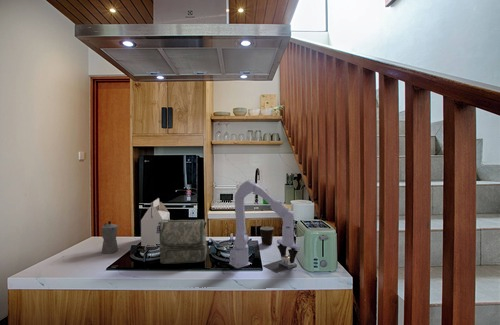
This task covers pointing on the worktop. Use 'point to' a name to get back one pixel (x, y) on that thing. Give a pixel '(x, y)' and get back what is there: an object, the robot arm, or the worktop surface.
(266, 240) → the coffee mug
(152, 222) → the gable box
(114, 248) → the coffeepot
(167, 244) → the lunch bag
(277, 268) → the mat
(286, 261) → the ring
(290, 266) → the doorknob
